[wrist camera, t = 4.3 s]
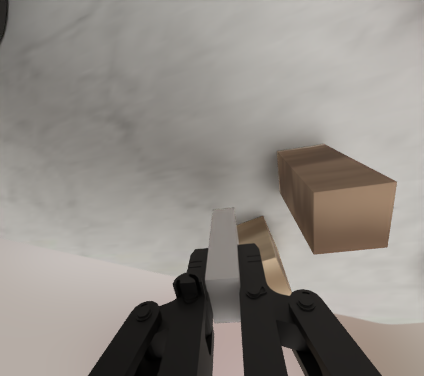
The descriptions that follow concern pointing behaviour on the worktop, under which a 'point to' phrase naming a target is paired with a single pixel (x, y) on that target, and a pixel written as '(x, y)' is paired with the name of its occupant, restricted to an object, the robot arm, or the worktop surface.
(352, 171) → the walnut block
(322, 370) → the robot arm
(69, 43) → the worktop surface
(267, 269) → the oak block
